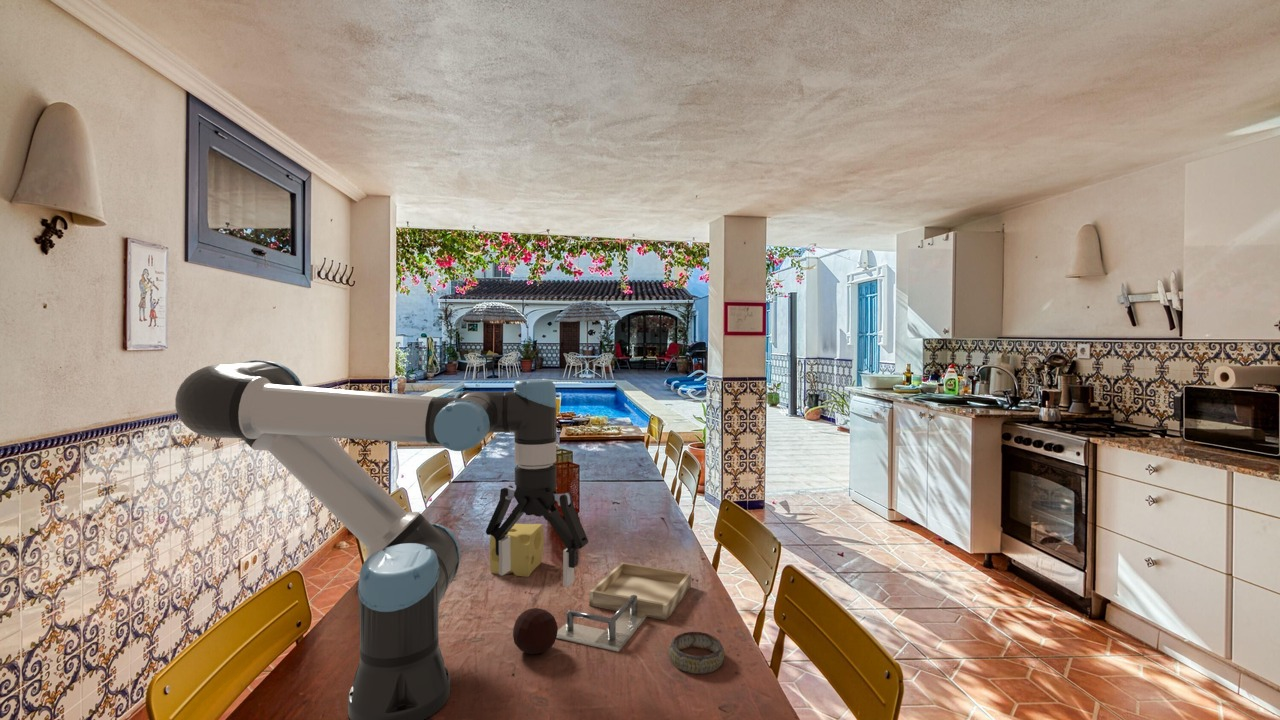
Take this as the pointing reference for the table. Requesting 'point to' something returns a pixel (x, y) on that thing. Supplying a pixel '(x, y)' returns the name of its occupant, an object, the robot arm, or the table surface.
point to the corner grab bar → (610, 638)
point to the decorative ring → (696, 662)
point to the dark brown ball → (535, 631)
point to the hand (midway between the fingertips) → (536, 578)
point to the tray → (641, 589)
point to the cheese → (521, 549)
